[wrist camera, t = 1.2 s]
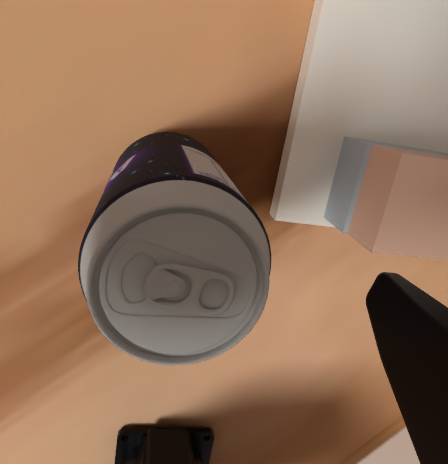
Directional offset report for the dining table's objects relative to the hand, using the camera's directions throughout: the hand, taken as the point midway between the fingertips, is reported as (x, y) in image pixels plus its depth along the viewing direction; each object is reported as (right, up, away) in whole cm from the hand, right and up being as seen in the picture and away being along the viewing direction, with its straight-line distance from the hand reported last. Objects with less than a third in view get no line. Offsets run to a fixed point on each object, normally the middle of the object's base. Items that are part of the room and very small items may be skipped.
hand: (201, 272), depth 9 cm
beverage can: (-3, +4, +13) cm, 13 cm away
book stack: (+13, +3, +14) cm, 19 cm away
